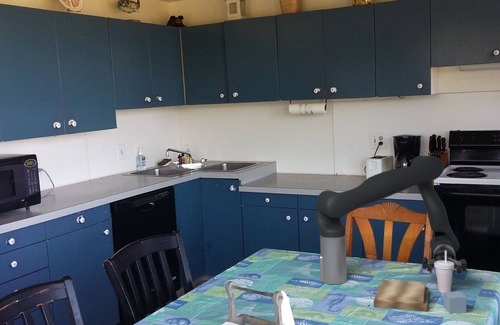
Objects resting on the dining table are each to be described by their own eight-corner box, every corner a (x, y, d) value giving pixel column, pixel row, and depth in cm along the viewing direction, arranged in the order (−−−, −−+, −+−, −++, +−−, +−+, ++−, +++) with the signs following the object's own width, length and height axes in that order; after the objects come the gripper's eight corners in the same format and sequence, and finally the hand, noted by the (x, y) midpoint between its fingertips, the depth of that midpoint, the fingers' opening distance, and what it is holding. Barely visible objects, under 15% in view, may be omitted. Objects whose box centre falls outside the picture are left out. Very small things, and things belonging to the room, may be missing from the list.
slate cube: (449, 314, 158) (449, 298, 157) (443, 307, 163) (443, 292, 162) (466, 313, 158) (466, 297, 157) (459, 306, 162) (459, 291, 162)
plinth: (373, 307, 166) (373, 294, 165) (379, 289, 181) (379, 278, 180) (426, 311, 160) (426, 298, 160) (428, 293, 175) (428, 281, 175)
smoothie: (456, 294, 172) (455, 253, 171) (435, 294, 173) (435, 253, 172) (452, 287, 178) (452, 248, 177) (433, 287, 180) (432, 247, 178)
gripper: (423, 245, 191) (421, 258, 176) (465, 247, 186) (467, 260, 171) (423, 265, 192) (421, 280, 177) (465, 267, 187) (467, 283, 172)
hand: (444, 270), depth 174 cm, fingers open, 8 cm apart
